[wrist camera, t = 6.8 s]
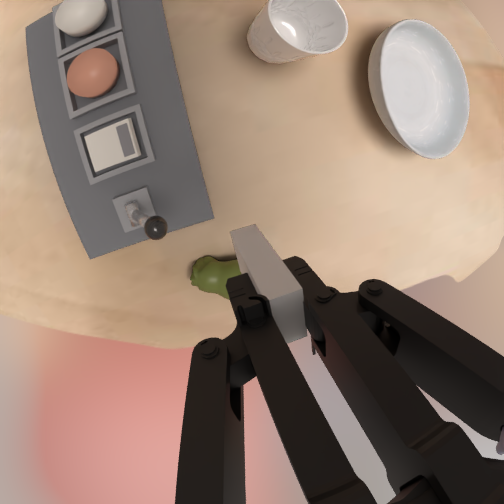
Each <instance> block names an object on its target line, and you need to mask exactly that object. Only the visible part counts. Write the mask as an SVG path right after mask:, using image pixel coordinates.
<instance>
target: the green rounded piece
mask: <svg viewBox="0 0 504 504" xmlns="http://www.w3.org/2000/svg"><path fill="white" fill-rule="evenodd" d="M241 274H242V273H241V271H240V268H239V264H238V260H237V259H236V260H231V261H227V262H221V261H217V260H215V259H214V258H212V257H210V256H206V257H204V258H199V259H198V260H197V261H196V263H195V264H194V265H193V272H192V275H191V279H190V280H191V281H192V282H191V284H192V285H193V286H197V287H199V289H200V290H202V291H204V292H208V293H216V294H219V295H220V296H222V297H224V298H226V299H229V295H228V292H227V289H226V282H227V279H228V278H231V277H234V276H237V275H241ZM229 300H230V299H229Z"/></svg>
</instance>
